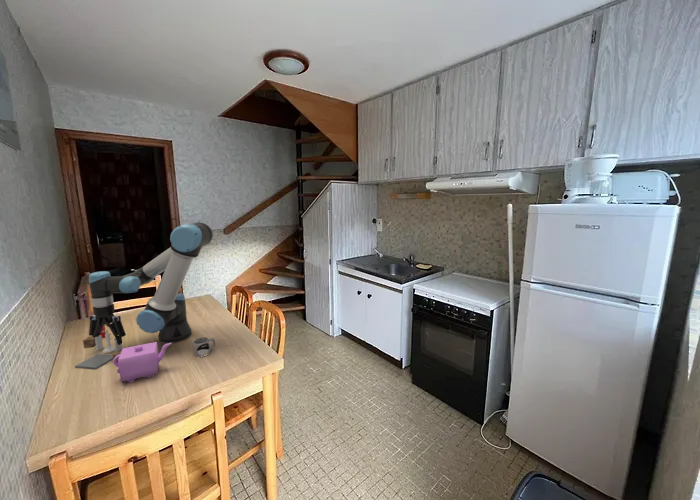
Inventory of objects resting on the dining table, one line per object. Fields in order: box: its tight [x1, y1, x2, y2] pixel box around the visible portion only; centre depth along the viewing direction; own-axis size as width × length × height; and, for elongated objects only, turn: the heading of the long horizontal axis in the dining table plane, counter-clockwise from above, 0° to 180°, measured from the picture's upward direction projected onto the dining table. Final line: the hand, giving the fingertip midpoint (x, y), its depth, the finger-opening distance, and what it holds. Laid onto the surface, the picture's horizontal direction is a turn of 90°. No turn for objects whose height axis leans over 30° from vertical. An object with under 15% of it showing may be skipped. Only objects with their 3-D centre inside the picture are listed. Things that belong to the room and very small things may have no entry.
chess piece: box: [102, 330, 116, 354], centre depth 138 cm, size 5×5×10 cm
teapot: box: [112, 341, 173, 384], centre depth 120 cm, size 20×10×12 cm, turn 120°
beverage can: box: [91, 314, 107, 339], centre depth 151 cm, size 5×5×12 cm
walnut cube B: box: [112, 350, 122, 363], centre depth 129 cm, size 4×4×4 cm
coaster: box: [74, 353, 113, 370], centre depth 129 cm, size 10×10×1 cm
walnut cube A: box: [82, 335, 96, 349], centre depth 143 cm, size 4×4×4 cm
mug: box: [192, 337, 216, 358], centre depth 137 cm, size 10×7×7 cm, turn 143°
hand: (109, 349), depth 139 cm, fingers open, 9 cm apart
